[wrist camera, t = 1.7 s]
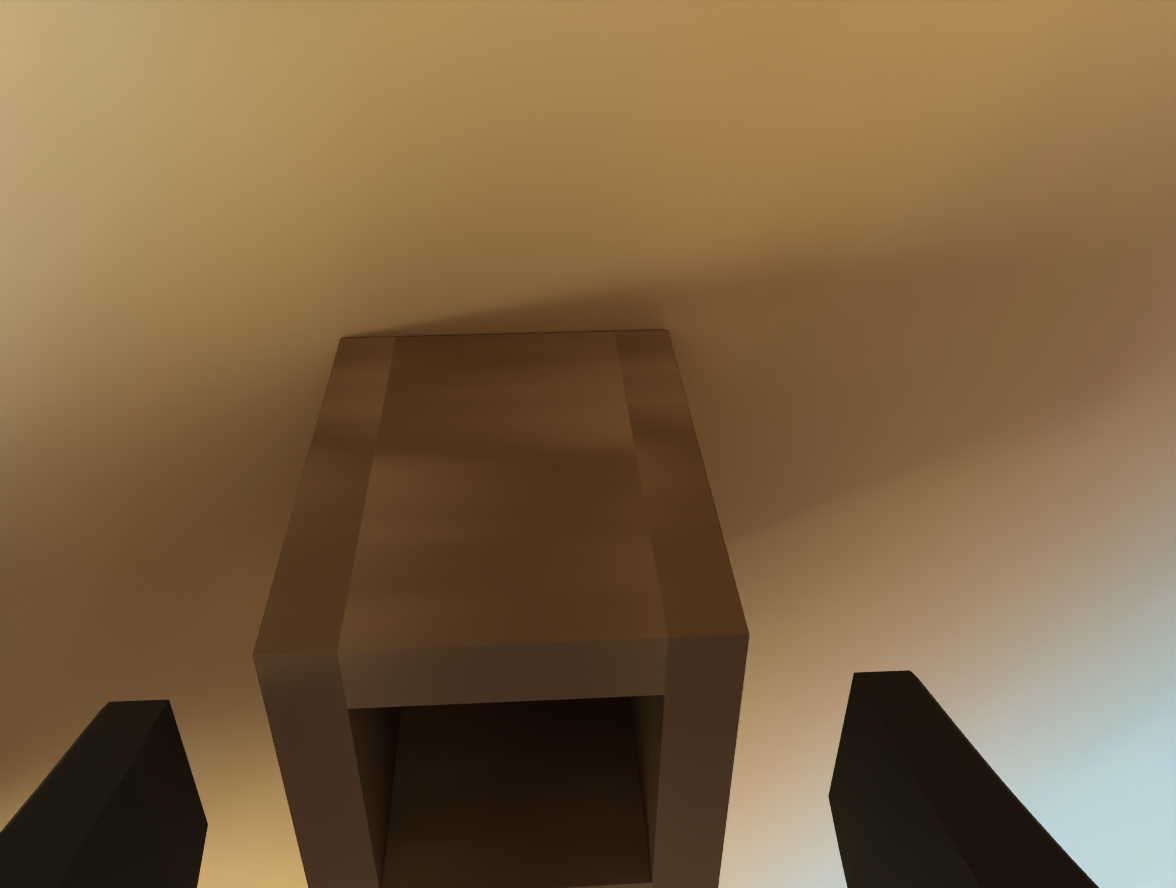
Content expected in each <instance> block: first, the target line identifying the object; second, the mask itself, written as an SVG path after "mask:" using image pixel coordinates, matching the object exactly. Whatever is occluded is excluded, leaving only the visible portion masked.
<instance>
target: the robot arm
mask: <svg viewBox="0 0 1176 888" xmlns="http://www.w3.org/2000/svg"><path fill="white" fill-rule="evenodd" d="M829 801H830V806H831V811H832V816H833V821H834V826H835V831H836V836H837V841H838V846H839V851H840V855H841V860H842V865H843V869H844V874H845V878H846V883H847V887H848V888H1099V887H1098V886H1097V885H1096V884H1095V883H1094V882H1093V881H1092V880H1091V879H1090V878H1089V877H1088V876H1087V874H1086V873H1085V872H1084V871H1083V870H1082V869H1081V868H1080V867H1079V866H1078V865H1077V864H1076V863H1075V862H1074V861H1073V860H1072V859H1071V857H1070V856H1069V855H1068V854H1067V853H1066V852H1065V851H1064V850H1063V849H1062V848H1061V846H1060V845H1059V844H1058V843H1057V842H1056V841H1055V840H1054V839H1053V838H1052V836H1051V835H1050V834H1049V833H1048V832H1047V831H1046V830H1045V829H1044V827H1043V826H1042V825H1041V824H1040V823H1039V822H1038V821H1037V820H1036V819H1035V817H1034V816H1033V815H1032V814H1031V813H1030V812H1029V811H1028V810H1027V809H1026V807H1025V806H1024V805H1023V804H1022V803H1021V802H1020V801H1019V800H1018V798H1017V797H1016V796H1015V795H1014V794H1013V793H1012V791H1011V790H1010V789H1009V788H1008V787H1007V786H1006V784H1005V783H1004V782H1003V781H1002V780H1001V779H1000V777H999V776H998V775H997V774H996V773H995V772H994V770H993V769H992V768H991V767H990V766H989V764H988V763H987V762H986V761H985V760H984V758H983V757H982V756H981V755H980V754H979V752H978V751H977V750H976V749H975V748H974V746H973V745H972V744H971V743H970V742H969V740H968V739H967V738H966V737H965V736H964V734H963V733H962V732H961V731H960V729H959V728H958V727H957V726H956V725H955V723H954V722H953V721H952V720H951V718H950V717H949V716H948V715H947V713H946V712H945V711H944V710H943V708H942V707H941V706H940V705H939V704H938V702H937V701H936V700H935V699H934V697H933V696H932V695H931V694H930V692H929V691H928V690H927V689H926V687H925V686H924V685H923V684H922V682H921V681H920V680H919V679H918V678H917V677H916V676H915V675H914V674H913V673H912V672H911V671H884V672H859V673H854V675H853V680H852V685H851V690H850V694H849V699H848V704H847V709H846V714H845V719H844V724H843V728H842V733H841V738H840V743H839V748H838V753H837V758H836V762H835V767H834V772H833V777H832V782H831V787H830V792H829ZM207 826H208V823H207V820H206V817H205V814H204V810H203V807H202V804H201V801H200V798H199V794H198V791H197V788H196V785H195V782H194V778H193V775H192V772H191V769H190V766H189V762H188V759H187V756H186V753H185V750H184V746H183V743H182V740H181V737H180V734H179V730H178V727H177V724H176V721H175V718H174V714H173V711H172V708H171V705H170V702H169V700H146V701H121V702H109V703H108V704H107V705H106V706H105V707H103V708H102V709H101V710H100V712H99V713H98V714H97V715H96V717H95V718H94V719H93V720H92V721H91V723H90V724H89V725H88V726H87V727H86V729H85V730H84V731H83V732H82V734H81V735H80V736H79V737H78V739H77V740H76V741H75V742H74V744H73V745H72V746H71V747H70V748H69V750H68V751H67V752H66V753H65V755H64V756H63V757H62V758H61V760H60V761H59V762H58V763H57V764H56V766H55V767H54V768H53V769H52V771H51V772H50V773H49V774H48V776H47V777H46V778H45V779H44V780H43V782H42V783H41V784H40V785H39V787H38V788H37V789H36V790H35V791H34V793H33V794H32V795H31V796H30V797H29V799H28V800H27V801H26V802H25V803H24V805H23V806H22V807H21V808H20V809H19V811H18V812H17V813H16V814H15V815H14V817H13V818H12V819H11V820H10V822H9V823H8V824H7V825H6V826H5V827H4V829H3V830H2V831H1V832H0V888H197V884H198V879H199V873H200V867H201V861H202V855H203V850H204V844H205V838H206V832H207Z"/></svg>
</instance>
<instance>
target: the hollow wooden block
mask: <svg viewBox="0 0 1176 888" xmlns="http://www.w3.org/2000/svg"><path fill="white" fill-rule="evenodd" d="M748 641H749V631H748V628H747V624H746V620H745V616H744V613H743V609H742V605H741V602H740V598H739V594H738V590H737V587H736V583H735V579H734V575H733V572H732V568H731V564H730V561H729V557H728V553H727V549H726V546H725V542H724V538H723V534H722V531H721V527H720V523H719V520H718V516H717V512H716V508H715V505H714V501H713V497H712V493H711V490H710V486H709V482H708V479H707V475H706V471H705V467H704V464H703V460H702V456H701V452H700V449H699V445H698V441H697V438H696V434H695V430H694V426H693V423H692V419H691V415H690V411H689V408H688V404H687V400H686V397H685V393H684V389H683V385H682V382H681V378H680V374H679V370H678V367H677V363H676V359H675V356H674V352H673V348H672V344H671V341H670V337H669V333H668V330H647V331H607V332H567V333H528V334H488V335H448V336H408V337H368V338H341V339H340V342H339V346H338V349H337V353H336V357H335V360H334V364H333V367H332V371H331V375H330V378H329V382H328V385H327V389H326V393H325V396H324V400H323V403H322V407H321V411H320V414H319V418H318V422H317V425H316V429H315V432H314V436H313V440H312V443H311V447H310V450H309V454H308V458H307V461H306V465H305V468H304V472H303V476H302V479H301V483H300V486H299V490H298V494H297V497H296V501H295V504H294V508H293V512H292V515H291V519H290V522H289V526H288V530H287V533H286V537H285V540H284V544H283V548H282V551H281V555H280V558H279V562H278V566H277V569H276V573H275V577H274V580H273V584H272V587H271V591H270V595H269V598H268V602H267V605H266V609H265V613H264V616H263V620H262V623H261V627H260V631H259V634H258V638H257V641H256V645H255V649H254V652H253V658H254V662H255V666H256V670H257V675H258V679H259V683H260V687H261V691H262V696H263V700H264V704H265V708H266V712H267V716H268V721H269V725H270V729H271V733H272V737H273V742H274V746H275V750H276V754H277V758H278V763H279V767H280V771H281V775H282V779H283V783H284V788H285V792H286V796H287V800H288V804H289V809H290V813H291V817H292V821H293V825H294V829H295V834H296V838H297V842H298V846H299V850H300V855H301V859H302V863H303V867H304V871H305V875H306V880H307V884H308V888H718V884H719V876H720V868H721V860H722V852H723V844H724V835H725V827H726V819H727V811H728V803H729V795H730V787H731V779H732V771H733V763H734V754H735V746H736V738H737V730H738V722H739V714H740V706H741V698H742V690H743V681H744V673H745V665H746V657H747V649H748Z"/></svg>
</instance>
